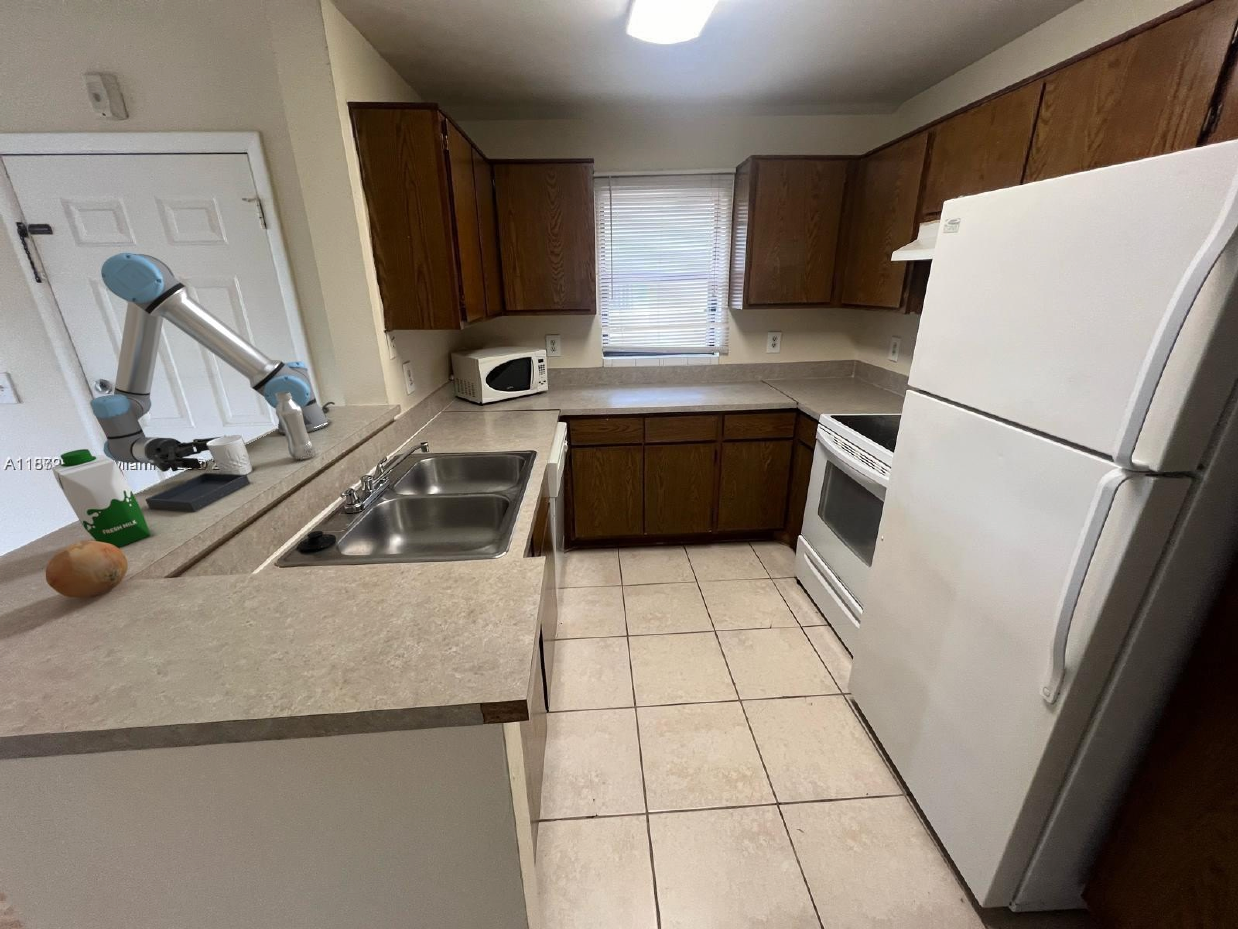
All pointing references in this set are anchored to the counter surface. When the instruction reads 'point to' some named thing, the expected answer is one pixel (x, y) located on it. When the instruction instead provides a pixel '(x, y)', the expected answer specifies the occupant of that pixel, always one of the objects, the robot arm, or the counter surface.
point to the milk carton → (101, 498)
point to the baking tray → (197, 492)
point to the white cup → (230, 454)
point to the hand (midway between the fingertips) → (222, 453)
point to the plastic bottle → (294, 426)
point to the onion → (86, 569)
